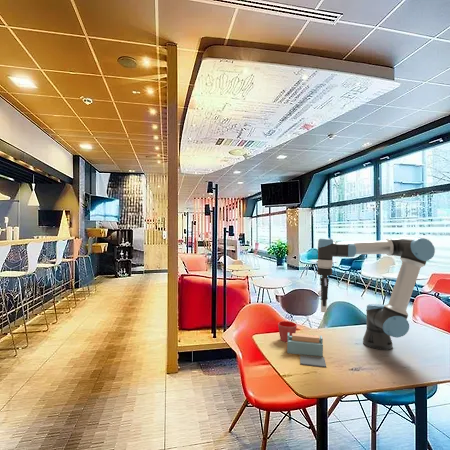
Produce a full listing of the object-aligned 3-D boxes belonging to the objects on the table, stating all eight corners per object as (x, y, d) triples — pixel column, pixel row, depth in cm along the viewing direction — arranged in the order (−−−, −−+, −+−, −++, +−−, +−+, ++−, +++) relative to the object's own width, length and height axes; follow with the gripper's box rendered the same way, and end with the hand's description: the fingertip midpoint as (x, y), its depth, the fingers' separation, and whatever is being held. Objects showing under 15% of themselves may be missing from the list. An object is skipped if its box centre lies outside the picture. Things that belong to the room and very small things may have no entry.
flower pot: (291, 345, 168) (292, 328, 168) (274, 340, 175) (274, 324, 175) (299, 339, 176) (299, 323, 177) (282, 335, 183) (282, 319, 183)
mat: (324, 358, 151) (324, 357, 151) (326, 367, 141) (326, 366, 141) (299, 356, 153) (300, 354, 153) (300, 364, 144) (300, 363, 144)
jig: (321, 350, 162) (321, 334, 162) (322, 356, 153) (322, 340, 153) (287, 346, 166) (287, 331, 166) (287, 353, 157) (287, 336, 157)
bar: (318, 343, 160) (318, 335, 160) (319, 345, 156) (319, 338, 156) (292, 340, 163) (292, 333, 163) (292, 343, 159) (292, 335, 159)
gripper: (316, 265, 165) (315, 308, 164) (318, 268, 152) (317, 314, 152) (330, 266, 163) (329, 309, 163) (333, 269, 150) (332, 315, 150)
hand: (323, 311), depth 157 cm, fingers closed
